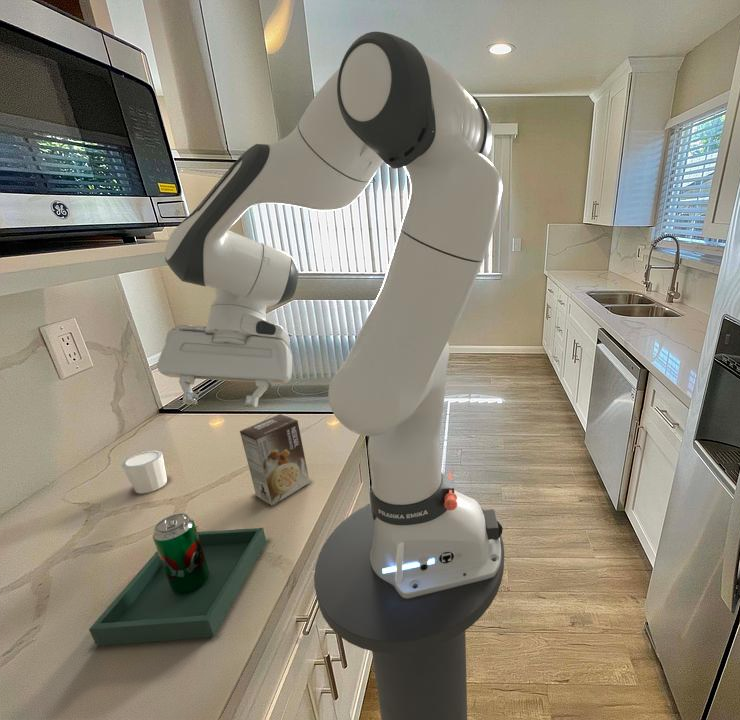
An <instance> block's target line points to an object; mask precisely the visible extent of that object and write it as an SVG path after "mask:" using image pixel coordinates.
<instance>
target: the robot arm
mask: <svg viewBox="0 0 740 720" xmlns="http://www.w3.org/2000/svg"><path fill="white" fill-rule="evenodd" d="M492 144H493V129H492V123H491V120H490V118H489V115H488V113H487V111H486V110H485V109H484V106H483V105H482V104H481V103H480V101H479V100H478V98H476V97H475V96H474V95H472V94H471V93H469V92H468V91H467V89H466V88H465V87H464V86H463V85H462V84H461V83H459V81H457V79H456V78H455V76H454V75H453V74H452V73H451V72H450V71H449V70H448V69H446V68H445V67H443V65H441V64H440V63H438V62H437V61H436V60H434V59H433V58H431V57H430V56H428V55H426V54H424V53H422V52H420V51H419V49H418V48H417V47H416V46H415V45H414V44H413V43H411V42H409V41H408V40H406V39H404V38H402V37H399V36H397V35H394V34H391V33H388V32H384V31H370V32H366V33H364V34H362V35H360V36H359V37H357V38H356V39H355V40H354V41H353V42H352V44H351V45H350V46H349V47H348V49H347V51H345V54H344V56H343V58H342V61H341V63H340V66H339V68H338V69H336V71H335V72H334V73H332V75H331V76H330V77H329V78H328V79H327V81H326V82H324V84H323V85H322V87H320V89H319V90H318V91H317V93H316V95H315V96H314V97H313V99H312V100H311V102H310V103H309V104H308V106H307V107H306V109H305V111H304V113H303V114H302V116H301V118H300V120H299V121H298V123H297V125H296V126H295V128H294V129H293V130H292V131H291V132H290V133H289V134H287V136H285V137H284V138H282V139H280V140H277V141H276V142H273V143H270V144H267V143H266V144H265V143H255V144H253V145H252V146H250V147H249V148H247V150H245V151H244V152H243V153H242V154H241V155H240V156H239V157H238V158H237V160H236V161H234V163H233V164H232V165H231V166H230V167H229V169H227V170H226V172H225V173H223V175H222V176H221V178H220V179H219V180H218V182H217V183H216V184H215V185H214V186H213V187H212V188H211V190H210V191H209V192H208V194H207V195H206V196H205V197H204V198H203V200H202V201H201V202H200V203H199V204H198V205H197V207H196V208H194V210H193V211H192V212H191V213H190V214H189V215H188V216H186V217H185V218H184V219H183V221H181V223H180V224H178V226H176V228H174V230H173V231H172V232H171V234H170V236H169V237H168V239H167V242H166V245H165V257H164V258H165V259H164V260H165V262H166V264H167V266H168V267H169V268H170V270H171V271H172V272H173V273H174V275H175V276H176V277H177V278H178V279H179V280H180V281H181V282H184V283H188V284H193V285H197V286H201V287H209V288H212V289H215V298H214V300H213V302H212V303H211V305H210V308H209V312H208V317H207V321H206V325H205V326H203V325H202V326H200V325H187V324H180V325H178V326H176V327H172V328H171V329H169V330H168V331H167V333H166V337H165V344H164V345H163V348H162V350H161V352H160V355H159V358H158V361H157V364H156V368H157V370H158V371H159V373H160V374H161V375H164V376H166V377H168V378H177V379H178V378H179V379H178V382H179V385H180V388H181V390H182V392H183V397H182V403H183V404H185V405H197V404H198V399H199V396H200V395H199V394H198V393H196V392H193V389H192V387H191V385H195V381H196V380H213V381H230V382H245V383H246V382H247V383H255V386H256V387H257V389H256V390H255V391H254V392H253V393H252V394H251V395H246V398H245V403H244V405H245V407H246V408H258V405H259V399H260V398H261V397H262V396H263V395H264V393H265V392H266V391H267V390H268V388H269V384H280V385H281V384H282V385H285V384H287V383H289V382H290V380H291V379H292V376H293V353H292V350H290V347H289V346H290V345H291V337H290V335H289V333H288V332H287V331H286V329H285V328H283V326H282V325H279V324H277V323H274V322H271V321H268V320H267V313H266V312H267V308H268V307H275V306H278V305H281V304H283V303H285V302H288V301H289V300H291V299H292V298H293V297H294V296H295V293H296V290H297V286H298V281H299V273H300V272H299V268H298V265H297V263H296V262H295V259H294V258H293V256H291V255H289V254H288V253H286V252H285V251H283V250H280V249H277V248H276V247H273V246H270V245H268V244H265V243H262V242H259V241H257V240H253V239H252V238H249V237H247V236H244V235H241V234H240V233H236V232H234V231H231V230H230V229H231V228H232V227H233V226H234V224H236V222H237V221H238V220H239V219H240V218H241V217H242V216H243V215H244V213H245V212H246V211H248V209H250V208H251V207H253V206H256V205H262V204H273V205H274V204H275V205H285V206H292V207H298V208H303V209H308V210H312V211H318V212H320V211H321V212H329V211H337V210H342V209H344V208H346V207H349V206H350V205H351V204H352V203H354V202H355V201H356V200H357V199H358V198H359V197H360V196H361V195H362V193H363V192H364V191H365V189H366V188H367V187H368V185H369V184H370V183H371V181H372V180H373V178H374V177H375V175H376V174H377V172H378V170H379V169H380V167H381V166H382V164H383V163H385V164H386V165H387V166H388V167H389V168H390V169H400V168H404V170H405V172H406V175H407V176H408V179H409V184H410V193H409V199H408V203H407V207H406V210H405V213H404V215H403V219H402V222H401V225H400V228H399V232H398V234H397V235H398V236H397V238H396V242H395V246H394V247H393V251H392V254H391V258H390V261H389V264H388V267H387V271H386V274H385V276H384V277H385V278H384V280H383V283H382V285H381V288H380V291H379V293H378V295H377V297H376V299H375V300H374V303H373V304H372V307H371V309H370V311H369V313H368V314H367V316H366V318H365V320H364V322H363V324H362V326H361V327H360V330H359V332H358V334H357V336H356V338H355V341H354V342H353V345H352V347H351V349H350V351H349V352H348V354H347V356H346V358H345V359H344V361H343V362H342V364H341V366H340V367H339V368H338V369H337V371H336V373H335V374H334V376H333V377H332V379H330V382H329V386H328V389H327V390H328V391H327V397H328V403H329V407H330V409H331V411H332V414H333V415H334V417H335V418H336V419H337V421H338V422H339V423H340V424H341V425H342V426H343V427H344V428H346V429H347V430H349V431H350V432H353V433H355V434H357V435H361V436H363V437H368V440H367V441H368V443H367V454H368V463H369V472H370V481H371V483H370V488H369V503H370V505H371V511H372V515H373V519H374V522H375V523H374V539H373V545H372V549H371V553H370V562H371V566H372V568H373V570H374V571H375V573H376V574H377V575H378V576H379V577H380V578H381V579H383V580H385V581H387V582H388V583H390V584H392V585H393V586H394V587H395V589H396V590H397V592H398V593H399V595H400V596H401V597H403V598H407V599H408V598H413V597H417V596H421V595H425V594H429V593H433V592H437V591H441V590H445V589H449V588H453V587H457V586H461V585H465V584H469V583H473V582H477V581H482V580H486V579H489V578H492V577H494V576H495V575H496V573H497V571H498V569H499V567H500V563H501V544H500V536H502V534H503V532H504V531H503V530H504V529H503V525H502V524H501V523H500V521H498V520H497V515H496V512H495V511H496V510H495V509H493V508H492V509H483V508H482V507H481V505H480V503H479V502H478V501H477V500H476V499H474V498H472V497H470V496H468V495H465V494H463V493H461V492H459V491H457V490H455V483H454V481H453V475H452V473H451V471H450V470H449V471H448V476H446V475H445V474H444V473H442V462H441V460H442V458H441V431H442V429H441V428H442V420H443V413H444V405H445V404H444V403H445V396H446V395H445V394H446V383H447V382H446V381H447V372H448V371H447V370H448V366H449V360H450V355H451V347H450V343H449V340H450V338H451V336H452V334H453V332H454V330H455V328H456V326H457V324H458V323H459V321H460V319H461V317H462V315H463V312H464V310H465V307H466V305H467V303H468V300H469V297H470V295H471V292H472V290H473V287H474V285H475V282H476V280H477V277H478V275H479V273H480V270H481V268H482V265H483V262H484V260H485V258H486V254H487V252H488V250H489V245H490V242H491V239H492V236H493V233H494V230H495V226H496V222H497V220H498V219H497V218H498V215H499V214H498V213H499V209H500V205H501V200H502V194H503V180H502V177H501V174H500V172H499V170H498V169H497V168H496V166H495V165H494V164H493V163H492V162H491V161H490V159H488V157H489V154H490V152H491V149H492ZM481 508H482V509H483V511H482V509H481ZM414 587H417V588H414Z"/></svg>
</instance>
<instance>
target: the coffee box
mask: <svg viewBox="0 0 740 720" xmlns="http://www.w3.org/2000/svg"><path fill="white" fill-rule="evenodd" d="M239 434H240V437H241V442H242V445H243V446H242V447H243V449H244V453H245V459H246V461H247V465H248V469H249V470H248V471H249V474H250V477H251V482H252V484H253V489H254V494H255V496H256V497H258V498H259V499H260V500H262V501H264V502H265V503H267V504H268V505H271V506H274V505H276V504H278V503H279V502H281V501H282V500H284V499H285V498H287V497H289V496H290V495H292V494H294V493H295V492H297V491H299V490H300V489H302V488H304V487H306V486H307V485H308V484H310V483H311V482H310V477H309V471H308V467H307V462H306V461H307V460H306V456H305V451H304V447H303V441H302V436H301V430H300V426H299V421H298V420H297V419H296V418H293V417H291V416H288V415H284V414H282V413H278V414H277V415H275V416H272V417H270V418H267V419H264V420H262V421H260V422H257V423H255V424H253V425H251V426H248V427H246V428H243V429H241V430H240V431H239Z"/></svg>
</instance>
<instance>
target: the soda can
mask: <svg viewBox="0 0 740 720" xmlns="http://www.w3.org/2000/svg"><path fill="white" fill-rule="evenodd" d="M197 532H198V530H197V527H196V524H195V520H194V519H193V518H192V517H190V515H189V514H187V513H183V512H180V513H175V514H174V513H173V514H171V515H169V516H166V517H164V518H163V519H161V520H160V521H159V522H157V524H155V526H154V528H153V533H152V539H153V543H154V546H155V548H156V552H157V551H158V554H159V556H160V559H161V562H162V565H163V568H164V570H165V573H166V576H167V579H168V582H169V584H170V587H171V590H172V592H174V593H176V594H187V593H190V592H193V591H195V590H196V589H198V588H199V587H201V586H202V585H203V584H204V583H205V581H206V580H207V578H208V576H209V569H208V565H207V562H206V559H205V556H204V552H203V549H202V546H201V543H200V539H199V536H198V533H197Z"/></svg>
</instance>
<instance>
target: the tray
mask: <svg viewBox="0 0 740 720" xmlns="http://www.w3.org/2000/svg"><path fill="white" fill-rule="evenodd" d="M197 533H198V536H199V539H200V543H201V546H202V549H203V552H204V556H205V559H206V562H207V565H208V569H209V576H208V578H207V580H206V581H205V583H204V584H203V585H202V586H201V587H199V588H198V589H196V590H195V591H193V592H190V593H187V594H176V593H174V592H172V590H171V587H170V584H169V582H168V579H167V576H166V573H165V570H164V568H163V565H162V562H161V559H160V556H159V554H158V551H157V550H156V552H154V554H153V555H152V556H151V557H150V559H149V560H148V561H147V562H146V563H145V564H144V566H143V567H142V568H141V569H140V570H139V571H138V573H136V575H135V576H133V578H132V579H131V580H130V582H128V583H127V585H126V586H125V587H124V588H123V589H122V591H121V592H120V593H119V594H118V595H117V596H116V598H115V599H113V601H112V602H111V603H110V604H109V606H108V607H107V608H106V609H105V610H104V611H103V613H102V614H101V615H100V616H99V617H98V618H97V619H96V621H94V623H92V625H91V626H90V627H89V629H88V631H89V633H90V635H91V637H92V639H93V641H94V643H95V645H96V647H103V646H117V645H129V644H141V643H142V644H143V643H154V642H167V641H179V640H180V641H181V640H193V639H204V638H205V639H206V638H215V635H216V633H217V632H218V630H219V628H220V626H221V625H222V623H223V621H224V620H225V618H226V616H227V614H228V612H229V611H230V608H231V607H232V605H233V603H234V601H235V600H236V598H237V596H238V594H239V592H240V591H241V588H242V587H243V585H244V583H245V582H246V580H247V578H248V576H249V575H250V573H251V570H252V569H253V567H254V565H255V564H256V561H257V560H258V558H259V556H260V554H261V553H262V551H263V549H264V547H266V546H265V545H266V544H267V538H266V533H265V528H264V527H255V528H254V527H253V528H238V529H236V528H235V529H220V530H204V531H197Z"/></svg>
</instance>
